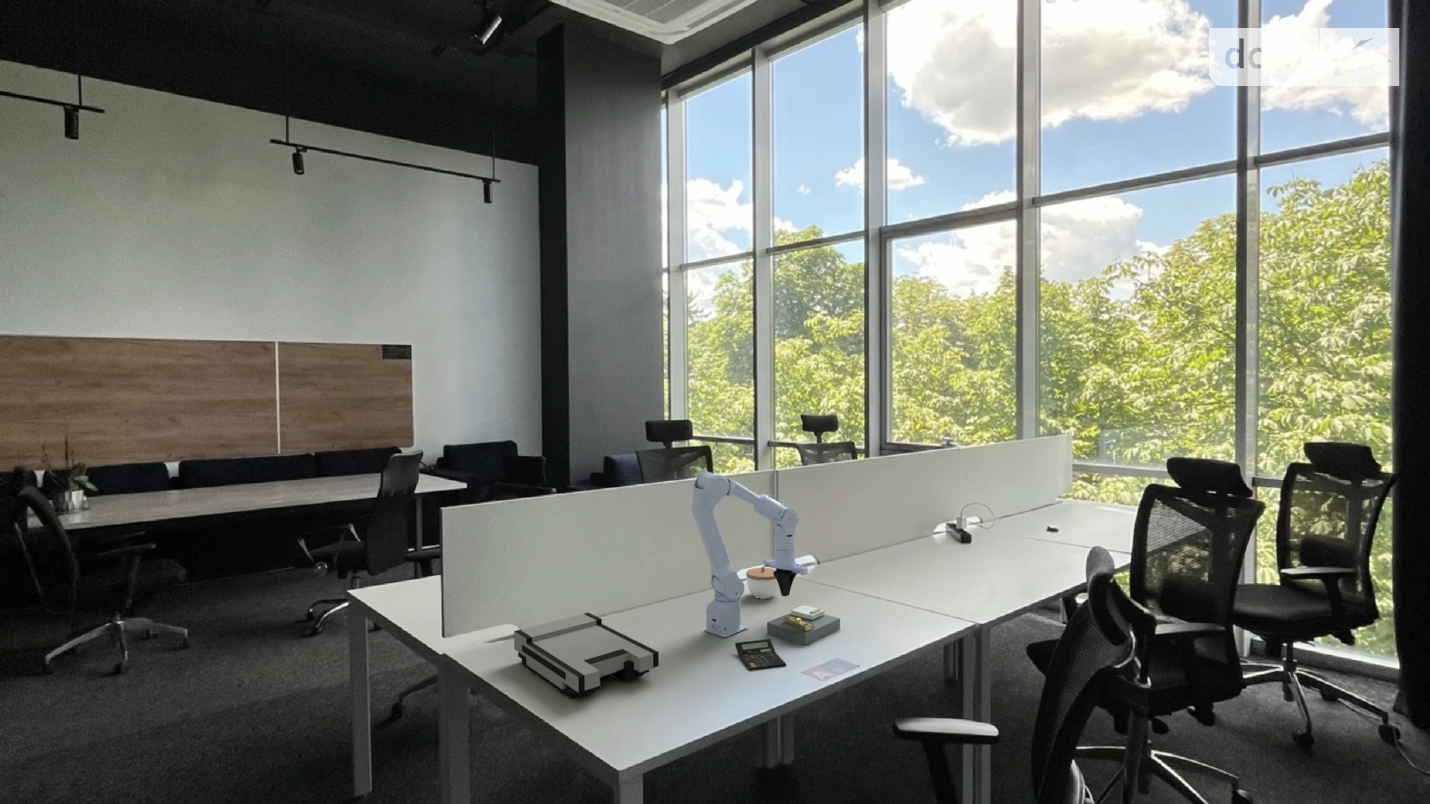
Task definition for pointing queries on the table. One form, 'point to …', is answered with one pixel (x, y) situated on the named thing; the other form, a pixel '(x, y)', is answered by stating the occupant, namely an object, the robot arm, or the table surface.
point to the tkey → (797, 623)
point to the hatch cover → (807, 612)
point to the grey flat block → (818, 630)
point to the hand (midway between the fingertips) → (785, 595)
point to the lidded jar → (762, 582)
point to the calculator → (759, 655)
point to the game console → (581, 654)
